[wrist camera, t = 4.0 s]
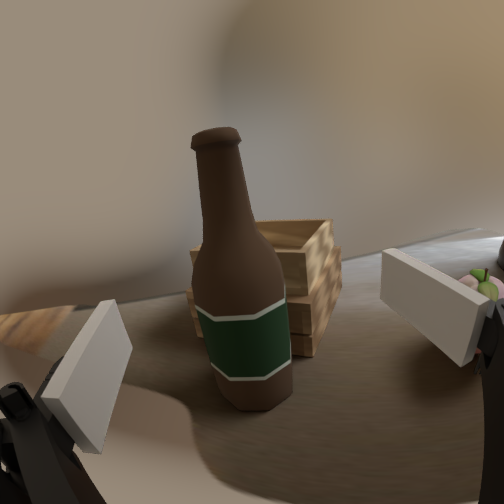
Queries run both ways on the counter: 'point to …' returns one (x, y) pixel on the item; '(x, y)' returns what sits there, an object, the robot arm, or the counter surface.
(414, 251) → the counter surface
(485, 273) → the decorative fruit
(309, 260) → the top crate
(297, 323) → the base crate
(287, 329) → the beer bottle
